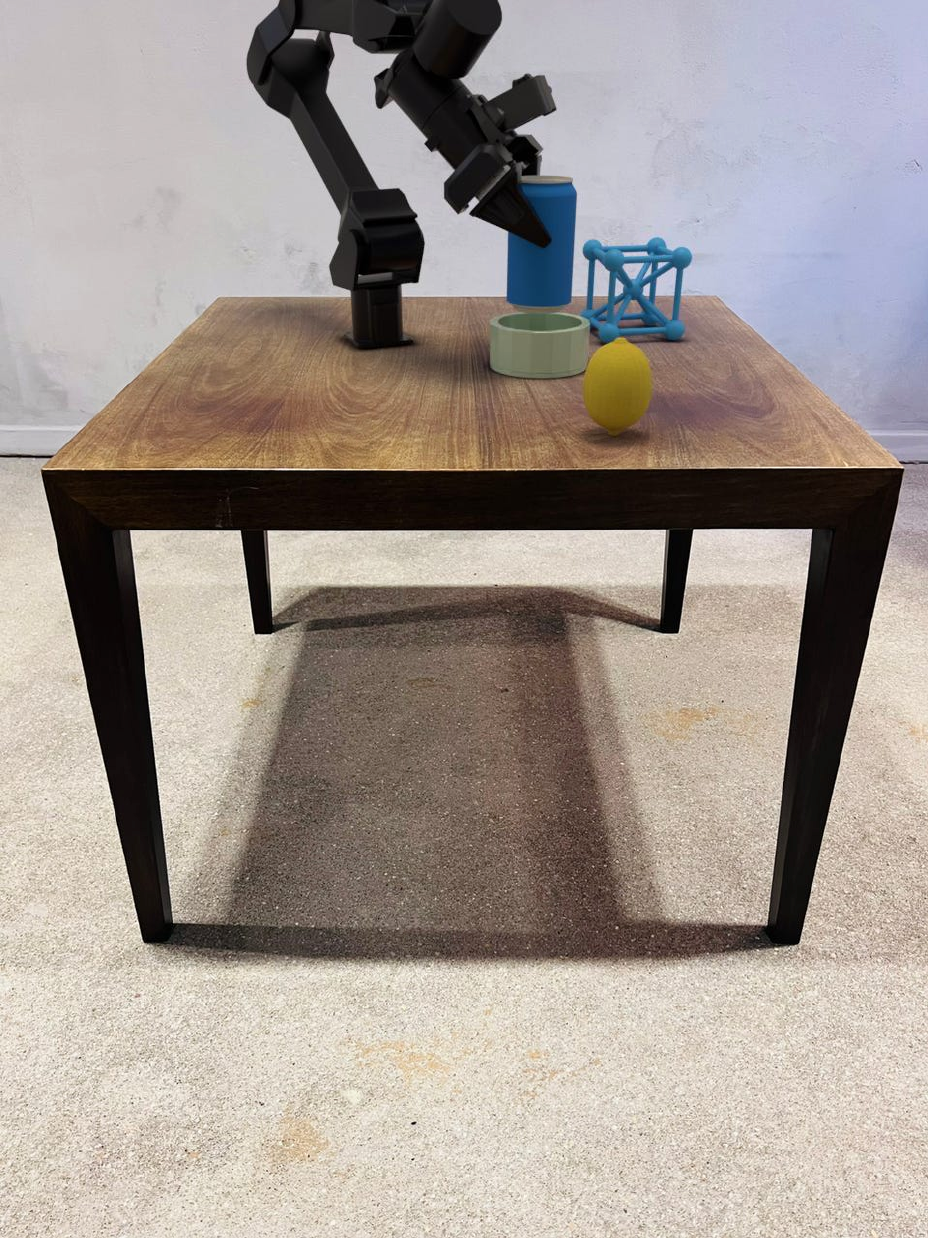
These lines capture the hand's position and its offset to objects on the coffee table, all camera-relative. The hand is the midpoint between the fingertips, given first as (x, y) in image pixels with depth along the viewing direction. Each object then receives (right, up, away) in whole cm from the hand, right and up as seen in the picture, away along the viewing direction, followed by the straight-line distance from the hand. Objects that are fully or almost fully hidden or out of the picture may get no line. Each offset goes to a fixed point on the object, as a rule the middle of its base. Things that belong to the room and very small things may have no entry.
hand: (554, 239), depth 95 cm
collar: (-1, -11, +6) cm, 12 cm away
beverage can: (-1, -6, +4) cm, 7 cm away
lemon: (+4, -22, -13) cm, 26 cm away
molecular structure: (+10, -4, +19) cm, 22 cm away
